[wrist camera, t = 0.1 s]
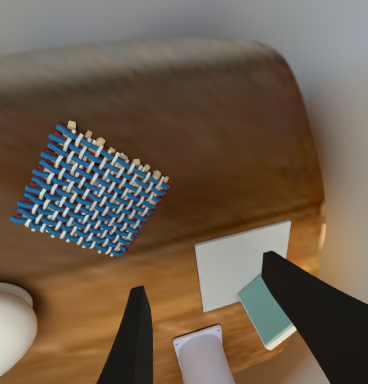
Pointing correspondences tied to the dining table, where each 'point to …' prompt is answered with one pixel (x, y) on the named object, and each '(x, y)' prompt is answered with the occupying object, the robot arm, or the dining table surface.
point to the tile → (265, 314)
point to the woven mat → (89, 193)
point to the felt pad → (236, 262)
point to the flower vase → (15, 325)
